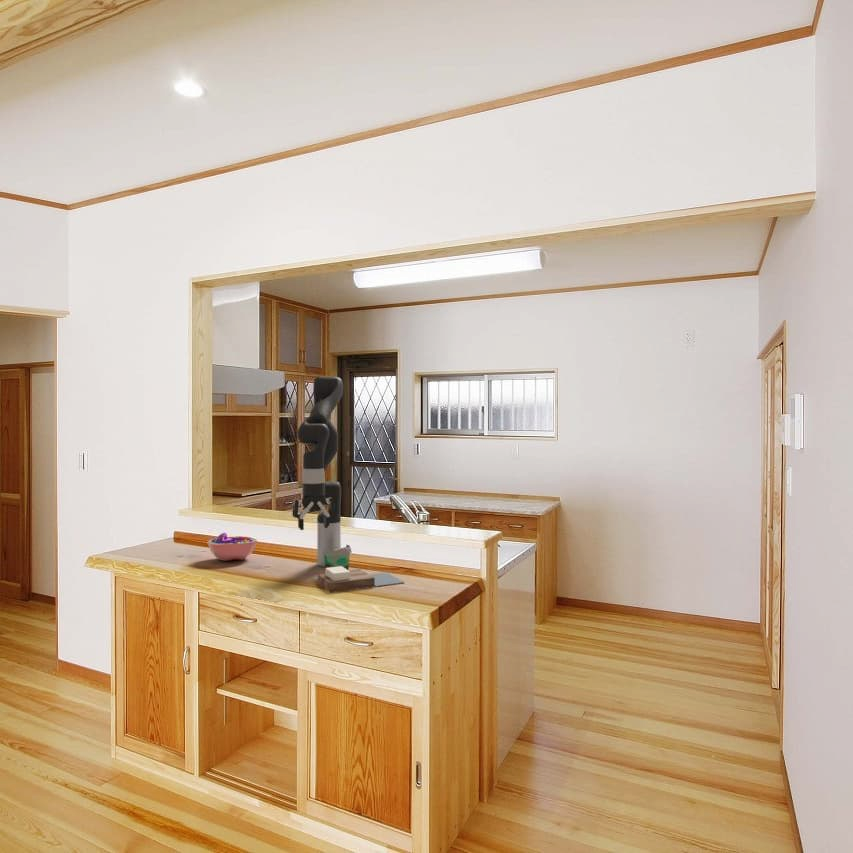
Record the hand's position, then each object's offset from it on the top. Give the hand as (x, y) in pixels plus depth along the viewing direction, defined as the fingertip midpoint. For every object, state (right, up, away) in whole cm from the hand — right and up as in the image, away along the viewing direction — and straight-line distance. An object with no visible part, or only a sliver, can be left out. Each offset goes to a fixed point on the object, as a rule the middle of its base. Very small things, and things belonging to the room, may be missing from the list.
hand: (313, 528), depth 216 cm
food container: (+7, -20, +20) cm, 29 cm away
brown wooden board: (+10, -20, +6) cm, 24 cm away
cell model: (-41, -20, +43) cm, 63 cm away
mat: (+22, -20, +12) cm, 32 cm away
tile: (+8, -16, +4) cm, 18 cm away
